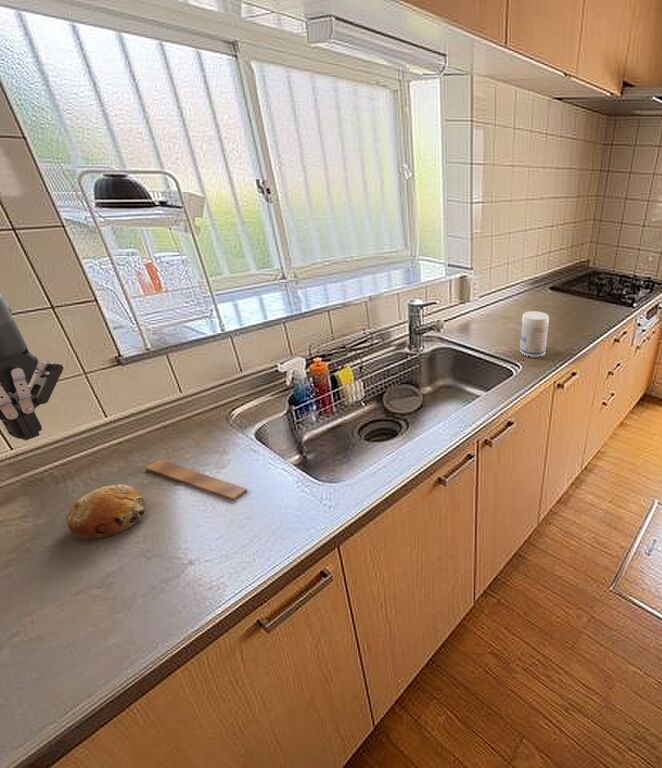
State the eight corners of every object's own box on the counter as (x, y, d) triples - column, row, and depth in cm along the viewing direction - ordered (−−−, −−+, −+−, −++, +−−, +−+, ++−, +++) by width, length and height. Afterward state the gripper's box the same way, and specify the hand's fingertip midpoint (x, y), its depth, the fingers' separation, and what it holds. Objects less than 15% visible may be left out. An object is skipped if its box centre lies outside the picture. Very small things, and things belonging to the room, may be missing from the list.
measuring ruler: (145, 469, 87) (144, 467, 86) (160, 461, 89) (159, 459, 89) (233, 500, 80) (232, 498, 80) (247, 491, 83) (246, 488, 82)
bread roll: (140, 510, 81) (115, 476, 79) (164, 508, 76) (138, 471, 74) (76, 547, 73) (47, 510, 71) (98, 548, 68) (67, 507, 66)
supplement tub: (515, 350, 156) (517, 312, 149) (537, 347, 160) (540, 309, 153) (527, 360, 148) (530, 320, 141) (550, 356, 152) (554, 317, 145)
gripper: (18, 303, 59) (68, 410, 66) (-137, 331, 47) (-56, 455, 55) (54, 312, 57) (101, 420, 64) (-100, 343, 45) (-21, 470, 53)
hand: (28, 436), depth 60 cm, fingers closed
